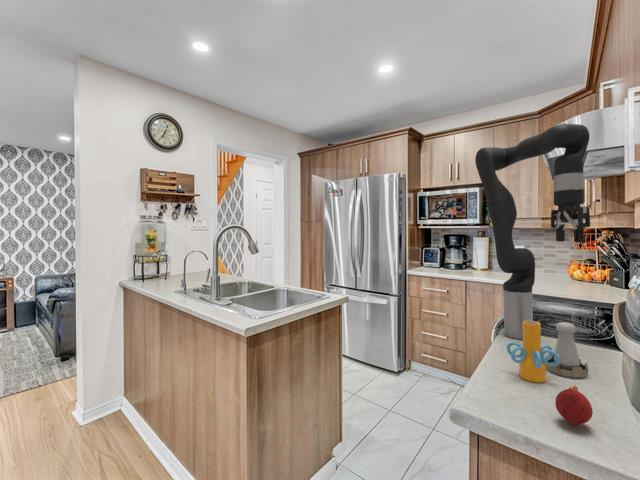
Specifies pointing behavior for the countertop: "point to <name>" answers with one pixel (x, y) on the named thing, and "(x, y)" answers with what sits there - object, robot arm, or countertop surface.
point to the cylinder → (532, 353)
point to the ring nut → (574, 373)
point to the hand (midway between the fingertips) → (569, 241)
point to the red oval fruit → (573, 406)
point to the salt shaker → (566, 346)
